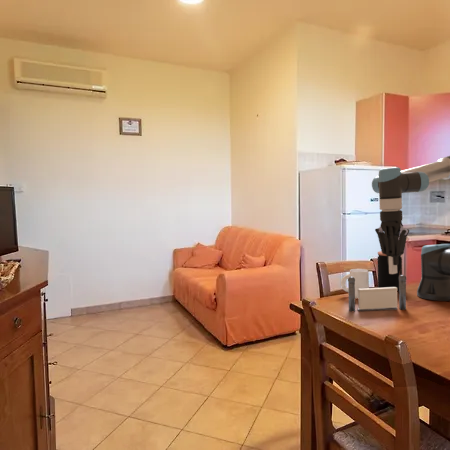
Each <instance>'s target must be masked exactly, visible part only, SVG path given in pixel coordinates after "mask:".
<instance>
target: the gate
mask: <svg viewBox="0 0 450 450" xmlns="http://www.w3.org/2000/svg"><path fill="white" fill-rule="evenodd" d="M357 302H358V304H357V305H358V308H359V309H375V308H395V307H397V308H398V292H397V288H396V287H384V288H378V287H369V288H364V289H358V301H357Z"/></svg>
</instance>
